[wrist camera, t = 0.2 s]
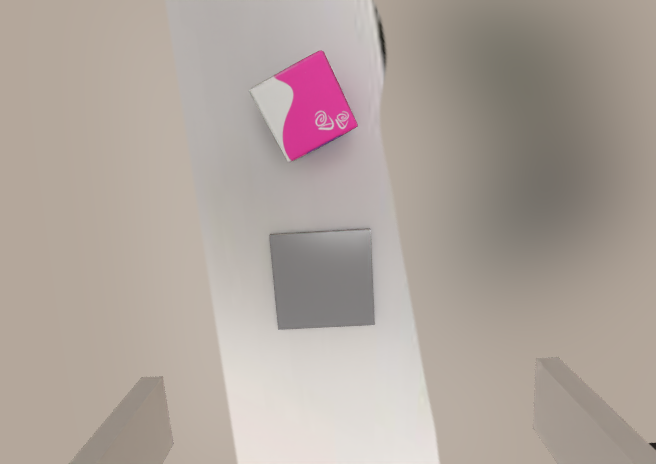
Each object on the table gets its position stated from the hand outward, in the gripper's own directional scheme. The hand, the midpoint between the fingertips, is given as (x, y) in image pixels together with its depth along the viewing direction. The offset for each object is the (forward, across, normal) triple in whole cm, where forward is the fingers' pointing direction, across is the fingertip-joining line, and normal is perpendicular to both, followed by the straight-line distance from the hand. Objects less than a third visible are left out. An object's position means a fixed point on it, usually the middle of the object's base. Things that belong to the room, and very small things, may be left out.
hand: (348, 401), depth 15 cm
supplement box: (+28, -2, +12) cm, 30 cm away
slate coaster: (+27, -2, -4) cm, 28 cm away
